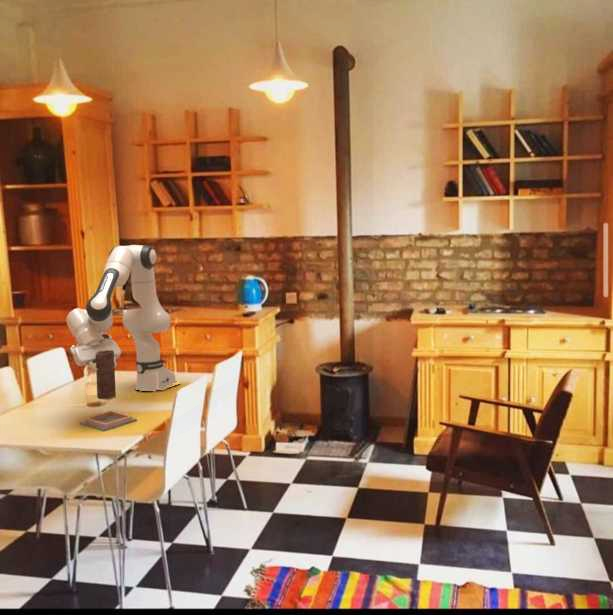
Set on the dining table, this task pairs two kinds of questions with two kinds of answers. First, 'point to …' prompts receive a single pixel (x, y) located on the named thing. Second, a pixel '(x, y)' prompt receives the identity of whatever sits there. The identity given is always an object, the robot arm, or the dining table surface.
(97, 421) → the plate
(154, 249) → the robot arm
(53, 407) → the dining table surface
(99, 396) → the candle
